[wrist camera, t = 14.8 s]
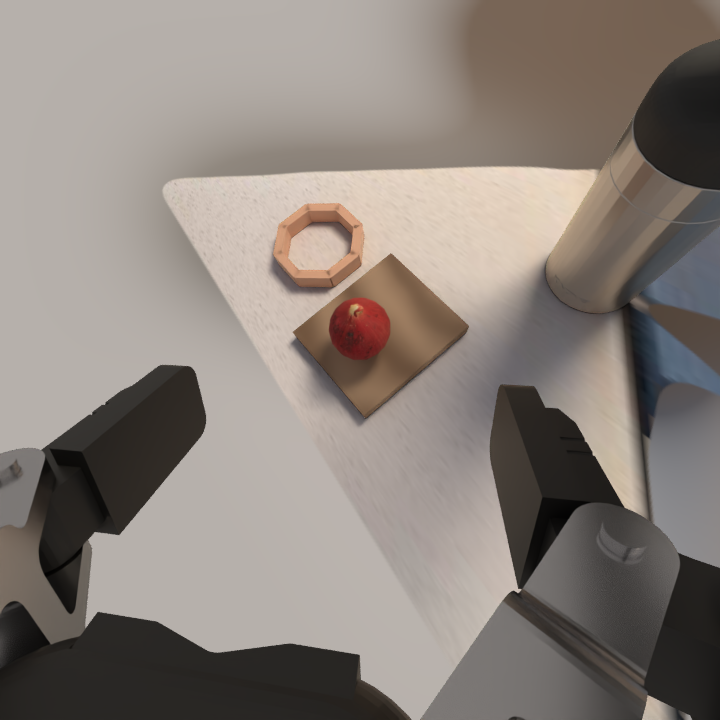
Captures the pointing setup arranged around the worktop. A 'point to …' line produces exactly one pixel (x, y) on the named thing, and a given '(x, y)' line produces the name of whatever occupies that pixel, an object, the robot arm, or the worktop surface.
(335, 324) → the onion
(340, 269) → the ring holder
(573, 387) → the worktop surface
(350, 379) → the walnut board
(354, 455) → the worktop surface
